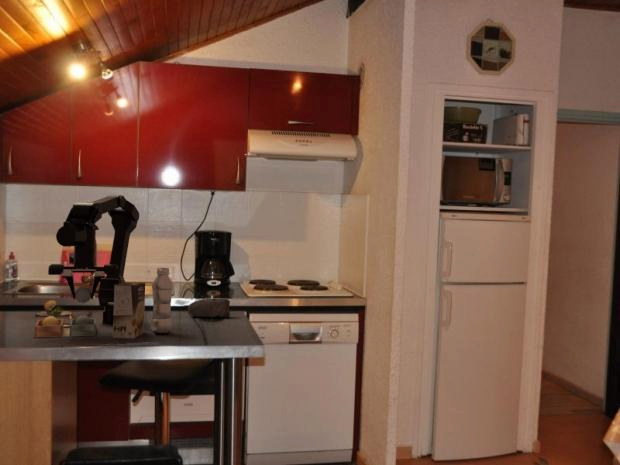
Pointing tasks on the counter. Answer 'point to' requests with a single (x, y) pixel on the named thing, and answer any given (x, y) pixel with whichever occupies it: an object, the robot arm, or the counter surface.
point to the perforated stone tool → (209, 308)
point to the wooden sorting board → (65, 329)
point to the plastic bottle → (162, 302)
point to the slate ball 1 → (83, 295)
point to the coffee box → (128, 309)
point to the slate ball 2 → (83, 320)
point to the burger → (52, 310)
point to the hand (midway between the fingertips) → (83, 299)
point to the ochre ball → (50, 321)
